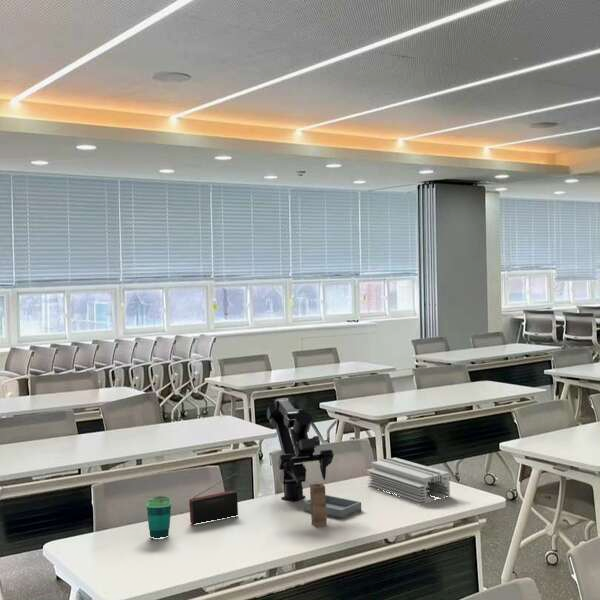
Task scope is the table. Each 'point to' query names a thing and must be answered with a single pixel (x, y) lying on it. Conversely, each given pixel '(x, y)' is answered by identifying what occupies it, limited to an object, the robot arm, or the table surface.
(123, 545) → the table surface
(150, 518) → the cup
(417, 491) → the aluminum extrusion profile
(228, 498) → the radio
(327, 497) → the tray
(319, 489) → the block
